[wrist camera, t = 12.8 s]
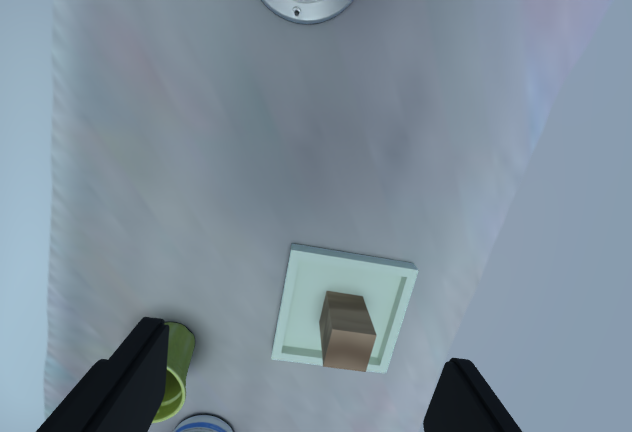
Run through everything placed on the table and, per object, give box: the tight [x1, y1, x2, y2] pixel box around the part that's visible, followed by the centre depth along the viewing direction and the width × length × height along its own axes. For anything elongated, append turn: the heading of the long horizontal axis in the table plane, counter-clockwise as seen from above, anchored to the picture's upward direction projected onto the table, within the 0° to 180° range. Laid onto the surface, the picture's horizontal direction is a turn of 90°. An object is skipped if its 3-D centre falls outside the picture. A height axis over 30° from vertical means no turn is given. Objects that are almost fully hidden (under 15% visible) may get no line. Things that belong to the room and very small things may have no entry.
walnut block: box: [319, 291, 377, 372], centre depth 38 cm, size 5×5×8 cm
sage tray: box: [271, 243, 419, 373], centre depth 41 cm, size 16×16×2 cm
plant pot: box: [152, 322, 195, 423], centre depth 38 cm, size 9×9×9 cm
